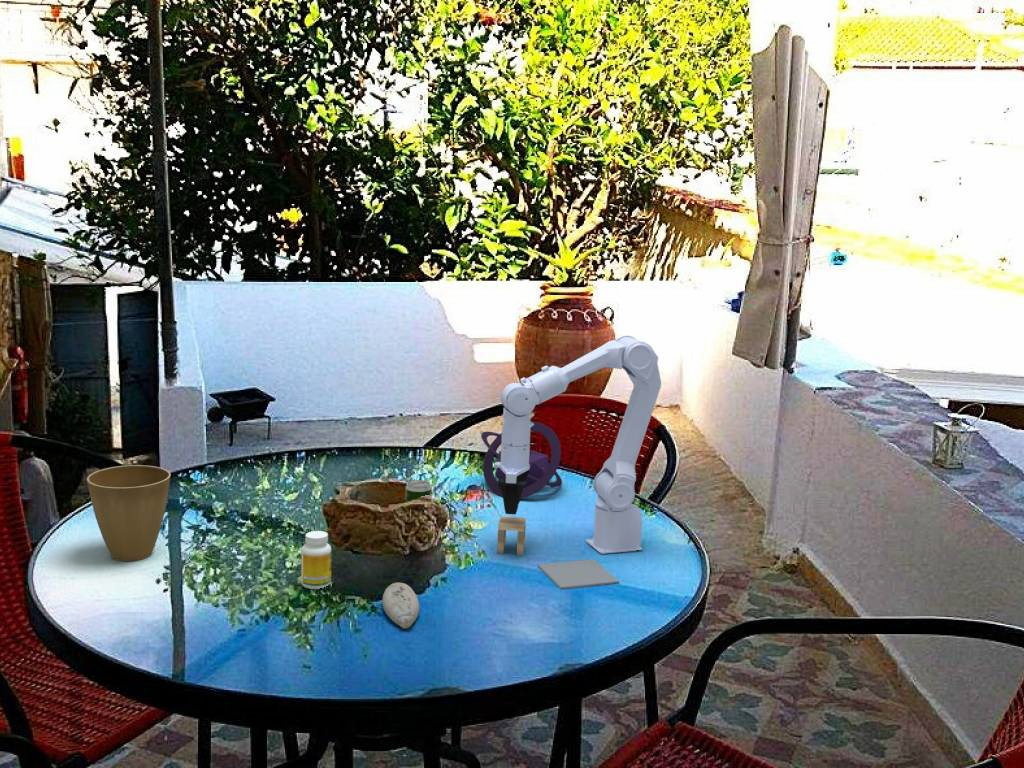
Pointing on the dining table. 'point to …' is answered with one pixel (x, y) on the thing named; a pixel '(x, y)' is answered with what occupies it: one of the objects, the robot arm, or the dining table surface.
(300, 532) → the dining table surface
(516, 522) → the wooden u-frame
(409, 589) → the decorative stone
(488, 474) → the decorative bottle
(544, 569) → the slate mat
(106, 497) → the plant pot
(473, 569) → the dining table surface
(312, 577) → the supplement bottle
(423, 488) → the beer can
